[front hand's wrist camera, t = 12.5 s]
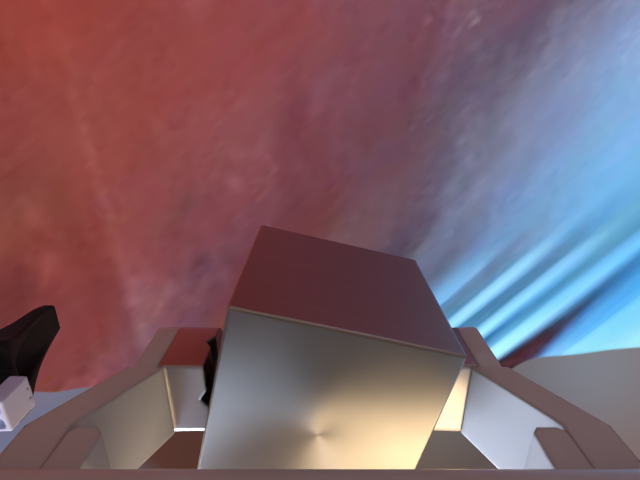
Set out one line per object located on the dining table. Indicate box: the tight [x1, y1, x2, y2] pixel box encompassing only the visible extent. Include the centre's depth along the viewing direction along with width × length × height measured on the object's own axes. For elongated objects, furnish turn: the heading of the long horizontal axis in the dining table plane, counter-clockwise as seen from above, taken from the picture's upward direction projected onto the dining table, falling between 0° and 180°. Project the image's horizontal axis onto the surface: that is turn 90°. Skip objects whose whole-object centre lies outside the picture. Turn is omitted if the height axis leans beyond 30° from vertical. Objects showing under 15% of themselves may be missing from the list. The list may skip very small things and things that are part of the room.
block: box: [197, 226, 466, 469], centre depth 10 cm, size 4×5×4 cm
